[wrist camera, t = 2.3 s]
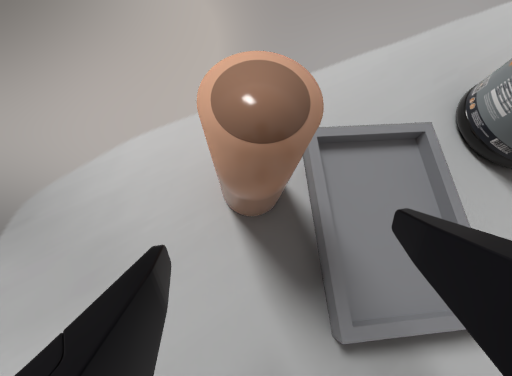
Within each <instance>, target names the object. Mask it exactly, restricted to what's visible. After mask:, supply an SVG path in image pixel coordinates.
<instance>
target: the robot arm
mask: <svg viewBox="0 0 512 376" xmlns="http://www.w3.org/2000/svg"><path fill="white" fill-rule="evenodd" d="M392 231H393V233H394V235H395V236H396V238H397V239H398V241H399V242H400V244H401V245H402V247H403V248H404V250H405V251H406V253H407V254H408V256H409V257H410V259H411V260H412V262H413V263H414V265H415V266H416V267H417V269H418V270H419V271H420V272H421V274H422V275H423V276H424V277H425V279H426V280H427V281H428V282H429V284H430V285H431V286H432V287H433V289H434V290H435V291H436V292H437V294H438V295H439V296H440V297H441V299H442V300H443V301H444V302H445V304H446V305H447V306H448V307H449V309H450V310H451V311H452V312H453V314H454V315H455V316H456V317H457V319H458V320H459V321H460V322H461V323H462V325H463V326H464V327H465V328H466V330H467V331H468V332H469V333H470V335H471V336H472V337H473V338H474V340H475V341H476V342H477V343H478V345H479V346H480V347H481V348H482V350H483V351H484V352H485V353H486V355H487V356H488V357H489V358H490V360H491V361H492V362H493V363H494V365H495V366H496V367H497V368H498V370H499V371H500V372H501V373H502V375H503V376H512V241H511V240H508V239H504V238H501V237H498V236H495V235H492V234H489V233H485V232H482V231H479V230H476V229H473V228H469V227H466V226H463V225H460V224H457V223H454V222H450V221H447V220H444V219H441V218H438V217H435V216H431V215H428V214H425V213H422V212H419V211H415V210H412V209H409V208H403V209H398V210H396V211H395V214H394V218H393V222H392ZM170 276H171V261H170V258H169V255H168V252H167V249H166V247H165V245H158V246H153V247H151V248H150V249H149V250H148V251H147V252H146V253H145V254H144V255H143V256H142V257H141V258H140V259H139V260H138V261H136V262H135V263H134V264H133V265H132V266H131V267H130V268H129V269H128V270H127V271H126V272H125V273H124V274H123V275H122V276H121V277H120V278H119V279H117V280H116V281H115V282H114V283H113V284H112V285H111V286H110V287H109V288H108V289H107V290H106V291H105V292H104V293H103V294H102V295H101V296H100V297H98V298H97V299H96V300H95V301H94V302H93V303H92V304H91V305H90V306H89V307H88V308H87V309H86V310H85V311H84V312H83V313H82V314H81V315H79V316H78V317H77V318H76V319H75V320H74V321H73V322H72V323H71V324H70V325H69V326H68V327H67V328H66V329H65V330H64V331H63V333H60V334H59V335H58V336H57V337H56V338H55V339H54V340H53V341H52V342H51V343H50V344H49V345H48V346H47V347H45V348H44V349H43V350H42V351H41V352H40V353H39V354H38V355H37V356H36V357H35V358H34V359H32V360H31V361H30V362H29V363H28V364H27V365H26V366H25V367H24V368H23V369H21V370H20V371H19V372H18V373H17V374H16V375H15V376H153V375H154V370H155V366H156V361H157V356H158V351H159V347H160V342H161V337H162V332H163V327H164V323H165V318H166V313H167V307H168V297H169V287H170Z"/></svg>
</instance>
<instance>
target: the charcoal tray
mask: <svg viewBox="0 0 512 376" xmlns="http://www.w3.org/2000/svg"><path fill="white" fill-rule="evenodd" d="M303 159H304V165H305V172H306V178H307V184H308V190H309V196H310V202H311V208H312V214H313V220H314V226H315V233H316V239H317V245H318V251H319V257H320V263H321V269H322V275H323V281H324V288H325V294H326V300H327V306H328V312H329V318H330V324H331V330H332V336H333V337H334V338H336V339H337V340H338V341H339V342H340V343H342V344H350V343H358V342H366V341H375V340H383V339H391V338H399V337H408V336H416V335H424V334H432V333H440V332H449V331H457V330H465V329H466V328H465V327H464V326H463V325H462V323H461V322H460V321H459V320H458V319H457V317H456V316H455V315H454V314H453V312H452V311H451V310H450V309H449V307H448V306H447V305H446V304H445V302H444V301H443V300H442V299H441V297H440V296H439V295H438V294H437V292H436V291H435V290H434V289H433V287H432V286H431V285H430V284H429V282H428V281H427V280H426V279H425V277H424V276H423V275H422V274H421V272H420V271H419V270H418V269H417V267H416V266H415V265H414V263H413V262H412V260H411V259H410V257H409V256H408V254H407V253H406V251H405V250H404V248H403V247H402V245H401V244H400V242H399V241H398V239H397V238H396V236H395V235H394V233H393V231H392V222H393V218H394V214H395V211H396V210H398V209H403V208H409V209H412V210H415V211H419V212H422V213H425V214H428V215H431V216H435V217H438V218H441V219H444V220H447V221H450V222H454V223H457V224H460V225H463V226H466V227H469V228H471V227H470V225H469V222H468V219H467V216H466V214H465V211H464V208H463V206H462V203H461V200H460V198H459V195H458V192H457V190H456V187H455V184H454V181H453V179H452V176H451V173H450V171H449V168H448V165H447V163H446V160H445V157H444V155H443V152H442V149H441V147H440V144H439V141H438V138H437V136H436V133H435V130H434V128H433V125H432V122H425V123H403V124H381V125H360V126H338V127H318V129H317V130H316V132H315V134H314V136H313V138H312V140H311V141H310V143H309V145H308V147H307V149H306V150H305V152H304V154H303Z"/></svg>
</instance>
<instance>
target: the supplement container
mask: <svg viewBox="0 0 512 376" xmlns="http://www.w3.org/2000/svg"><path fill="white" fill-rule="evenodd" d="M456 118H457V124H458V127H459V130H460V132H461V134H462V136H463V137H464V139H465V140H466V142H467V143H468V144H469V145H470V146H471V147H472V148H473V149H474V150H475V151H476V152H477V153H478V154H480V155H481V156H483V157H484V158H486V159H488V160H489V161H491V162H493V163H496V164H498V165H501V166H505V167H509V168H512V59H511V60H509V61H508V62H507V63H505V64H504V65H503V66H501V67H500V68H499V69H497V70H496V71H495V72H493V73H492V74H491V75H490V76H488V77H487V78H486V79H484V80H483V81H482V82H480V83H479V84H477V85H475V86H474V87H473V88H471V89H470V90H469V91H468V92H466V93H465V95H464V96H463V97H462V98H461V100H460V102H459V104H458V107H457V112H456Z"/></svg>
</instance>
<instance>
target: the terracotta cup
mask: <svg viewBox="0 0 512 376" xmlns="http://www.w3.org/2000/svg"><path fill="white" fill-rule="evenodd" d="M323 105H324V104H323V97H322V93H321V90H320V88H319V86H318V84H317V82H316V80H315V79H314V77H313V76H312V75H311V74H310V73H309V72H308V71H307V70H306V69H305V68H304V67H303V66H301V65H300V64H299V63H297V62H296V61H294V60H292V59H290V58H288V57H286V56H283V55H280V54H277V53H272V52H266V51H248V52H242V53H238V54H235V55H232V56H229V57H227V58H225V59H223V60H221V61H220V62H218V63H217V64H216V65H214V66H213V67H212V68H211V69H210V70H209V71H208V73H207V74H206V75H205V76H204V78H203V80H202V82H201V84H200V87H199V89H198V94H197V109H198V113H199V117H200V120H201V124H202V127H203V130H204V134H205V137H206V140H207V144H208V147H209V150H210V153H211V157H212V160H213V163H214V167H215V170H216V173H217V177H218V180H219V183H220V186H221V190H222V193H223V196H224V199H225V201H226V203H227V204H228V205H229V207H230V208H231V209H233V210H234V211H235V212H237V213H239V214H241V215H245V216H259V215H262V214H264V213H266V212H268V211H269V210H271V209H272V208H273V207H274V206H275V204H276V203H277V201H278V199H279V197H280V196H281V194H282V192H283V190H284V188H285V187H286V185H287V183H288V181H289V179H290V177H291V176H292V174H293V172H294V170H295V168H296V167H297V165H298V163H299V161H300V159H301V158H302V156H303V154H304V152H305V150H306V149H307V147H308V145H309V143H310V141H311V140H312V138H313V136H314V134H315V132H316V130H317V129H318V127H319V125H320V122H321V119H322V116H323Z"/></svg>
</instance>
